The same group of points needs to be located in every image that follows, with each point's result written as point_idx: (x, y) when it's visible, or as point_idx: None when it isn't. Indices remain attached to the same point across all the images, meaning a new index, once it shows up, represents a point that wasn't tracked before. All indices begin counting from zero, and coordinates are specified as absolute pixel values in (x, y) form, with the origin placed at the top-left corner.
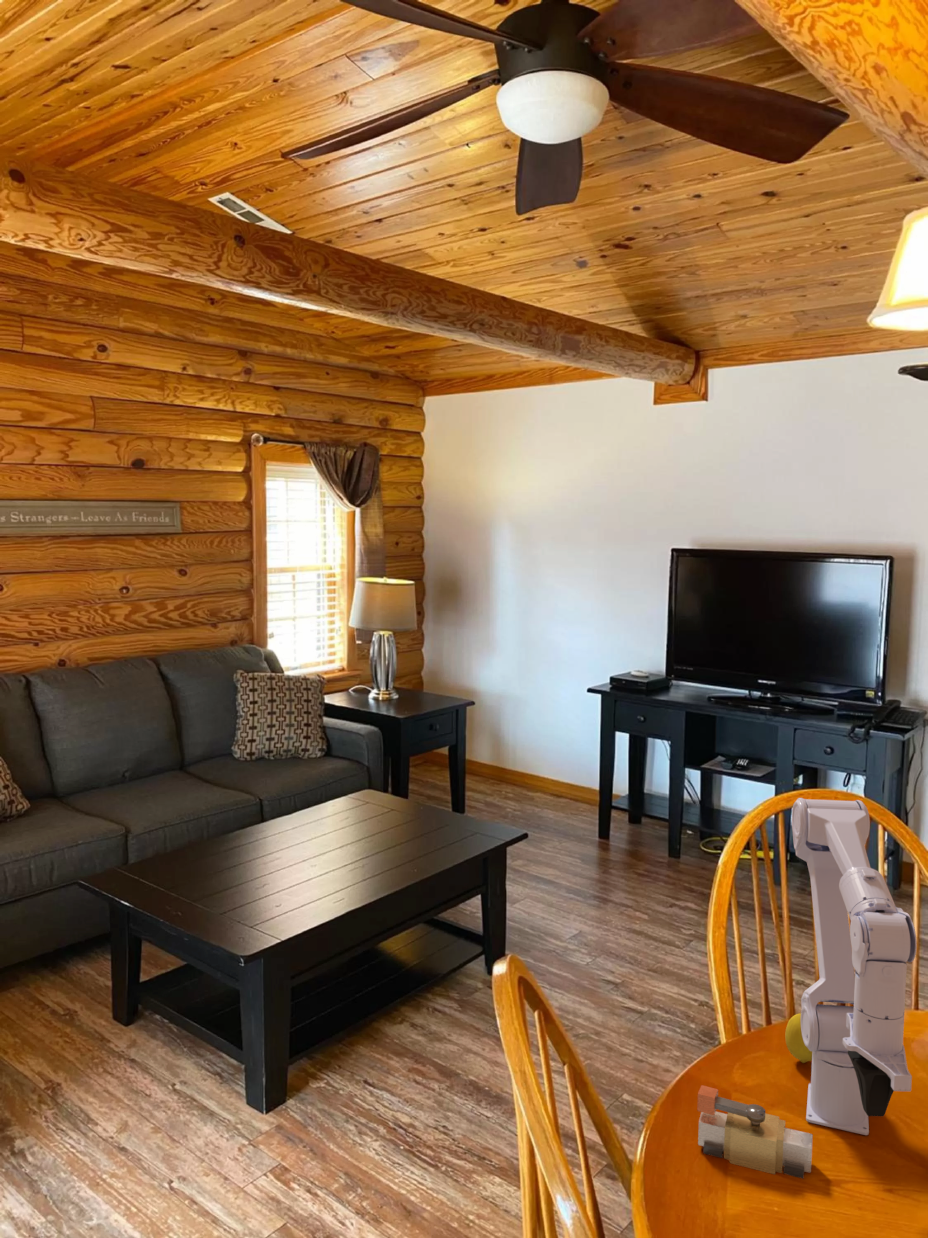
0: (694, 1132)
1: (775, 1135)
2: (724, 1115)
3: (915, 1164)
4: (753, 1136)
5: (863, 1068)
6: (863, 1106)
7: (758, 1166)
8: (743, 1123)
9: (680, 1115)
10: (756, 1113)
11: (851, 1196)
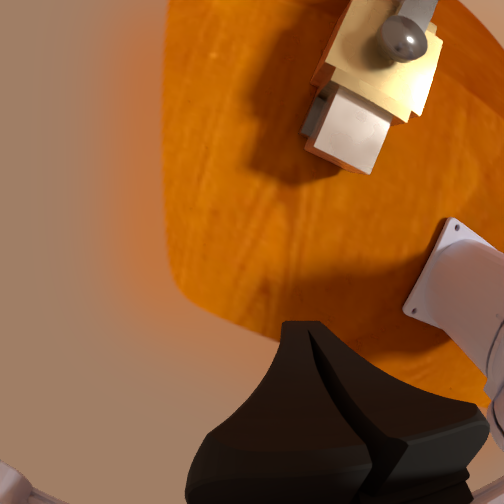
0: None
1: (350, 70)
2: None
3: None
4: (343, 22)
5: (208, 483)
6: (314, 325)
7: (322, 55)
8: None
9: (450, 12)
10: (391, 28)
11: (247, 210)
